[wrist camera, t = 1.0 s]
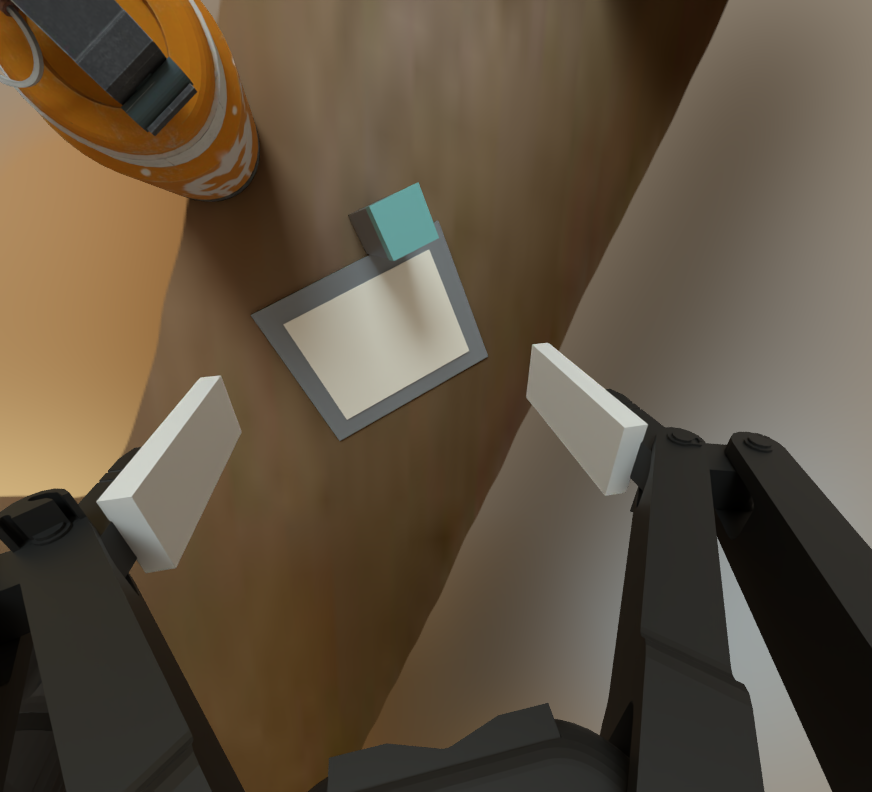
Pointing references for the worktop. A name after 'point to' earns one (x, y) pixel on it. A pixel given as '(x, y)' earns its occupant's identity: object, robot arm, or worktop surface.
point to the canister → (136, 89)
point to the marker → (395, 224)
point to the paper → (375, 334)
